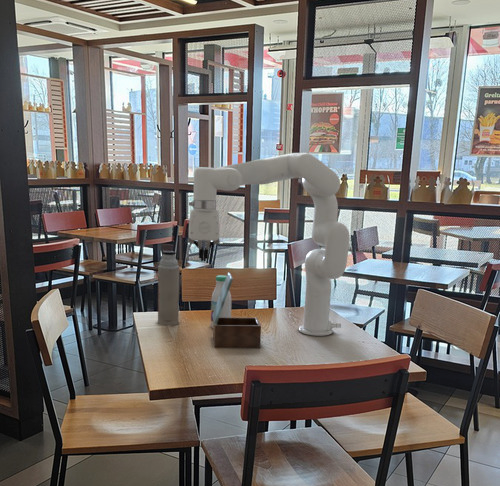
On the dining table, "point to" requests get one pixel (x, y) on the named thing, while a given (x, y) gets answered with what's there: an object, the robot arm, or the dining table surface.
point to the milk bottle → (215, 296)
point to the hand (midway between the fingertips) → (203, 260)
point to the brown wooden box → (237, 333)
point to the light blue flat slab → (222, 298)
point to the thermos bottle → (168, 290)
